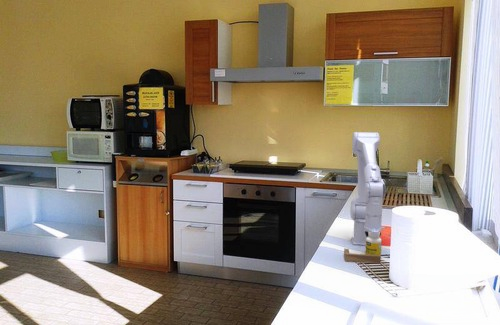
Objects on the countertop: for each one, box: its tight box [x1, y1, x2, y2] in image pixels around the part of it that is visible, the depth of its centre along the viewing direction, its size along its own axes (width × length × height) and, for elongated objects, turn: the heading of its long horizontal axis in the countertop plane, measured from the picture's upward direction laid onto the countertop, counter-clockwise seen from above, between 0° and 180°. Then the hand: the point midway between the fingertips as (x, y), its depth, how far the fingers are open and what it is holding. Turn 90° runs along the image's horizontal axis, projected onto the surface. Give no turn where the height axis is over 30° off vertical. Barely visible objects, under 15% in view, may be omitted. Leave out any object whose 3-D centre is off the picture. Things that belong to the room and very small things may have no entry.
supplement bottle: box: [364, 231, 382, 256], centre depth 172 cm, size 5×5×10 cm
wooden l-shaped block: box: [343, 248, 382, 264], centre depth 172 cm, size 8×12×2 cm, turn 82°
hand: (372, 251), depth 176 cm, fingers closed, pressing on supplement bottle
